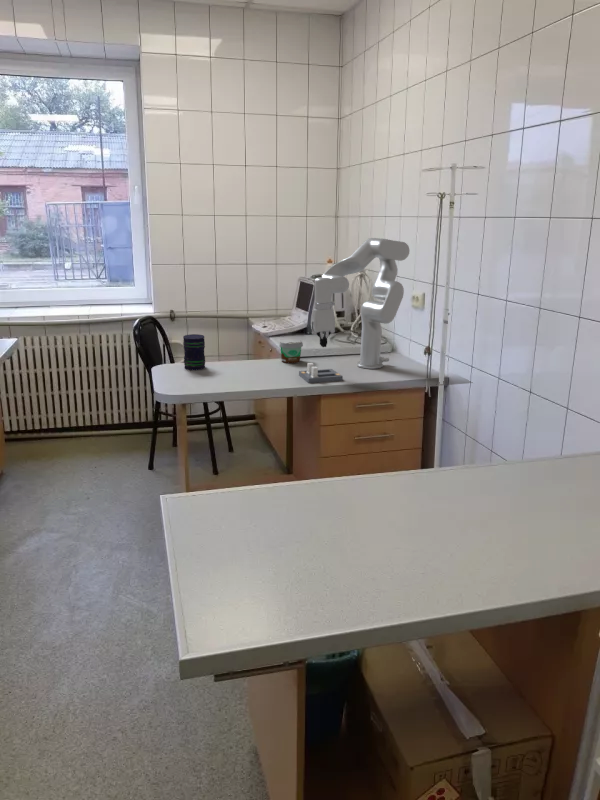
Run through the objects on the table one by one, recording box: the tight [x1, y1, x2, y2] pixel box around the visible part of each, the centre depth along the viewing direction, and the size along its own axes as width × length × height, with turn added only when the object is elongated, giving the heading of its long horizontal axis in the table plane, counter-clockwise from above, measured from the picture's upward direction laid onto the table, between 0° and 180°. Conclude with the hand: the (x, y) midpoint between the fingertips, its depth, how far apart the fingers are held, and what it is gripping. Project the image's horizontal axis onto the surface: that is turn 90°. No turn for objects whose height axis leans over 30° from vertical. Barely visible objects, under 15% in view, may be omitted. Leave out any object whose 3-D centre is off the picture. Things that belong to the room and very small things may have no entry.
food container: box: [278, 340, 304, 364], centre depth 303 cm, size 12×6×10 cm, turn 117°
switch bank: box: [298, 368, 343, 384], centre depth 278 cm, size 16×13×2 cm
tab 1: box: [306, 362, 315, 374], centre depth 279 cm, size 3×3×5 cm
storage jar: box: [182, 333, 206, 371], centre depth 289 cm, size 10×10×15 cm
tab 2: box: [311, 366, 319, 378], centre depth 273 cm, size 3×3×5 cm
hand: (323, 346), depth 278 cm, fingers closed
